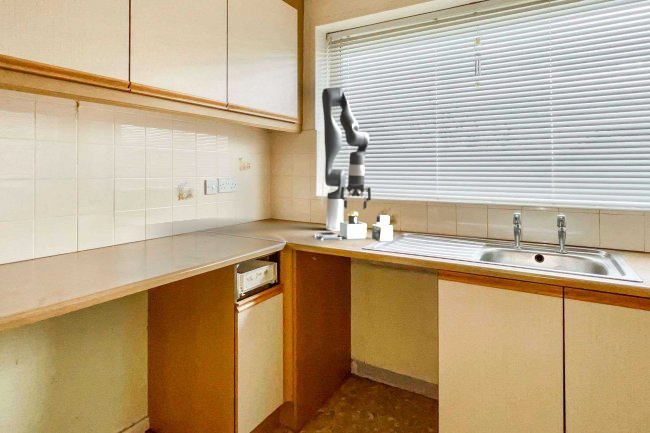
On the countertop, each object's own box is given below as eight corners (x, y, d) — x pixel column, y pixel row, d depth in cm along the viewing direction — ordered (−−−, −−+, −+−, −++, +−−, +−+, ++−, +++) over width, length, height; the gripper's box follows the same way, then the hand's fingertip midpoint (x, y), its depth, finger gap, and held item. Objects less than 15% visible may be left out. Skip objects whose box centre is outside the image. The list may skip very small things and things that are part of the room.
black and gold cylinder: (346, 238, 181) (347, 212, 179) (348, 237, 185) (348, 211, 184) (356, 239, 180) (357, 212, 178) (357, 237, 184) (358, 211, 183)
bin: (339, 238, 185) (339, 221, 184) (357, 237, 189) (358, 221, 188) (346, 241, 177) (347, 224, 176) (366, 240, 181) (366, 224, 180)
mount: (310, 238, 182) (311, 231, 181) (334, 237, 186) (334, 231, 186) (319, 243, 171) (319, 236, 170) (344, 242, 175) (344, 235, 174)
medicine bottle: (371, 239, 186) (372, 214, 185) (383, 238, 189) (384, 214, 188) (380, 241, 180) (381, 216, 179) (392, 240, 183) (393, 216, 182)
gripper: (340, 174, 177) (339, 209, 179) (371, 175, 175) (370, 210, 177) (342, 174, 184) (340, 207, 186) (371, 174, 182) (370, 208, 184)
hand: (355, 208), depth 181 cm, fingers open, 8 cm apart
